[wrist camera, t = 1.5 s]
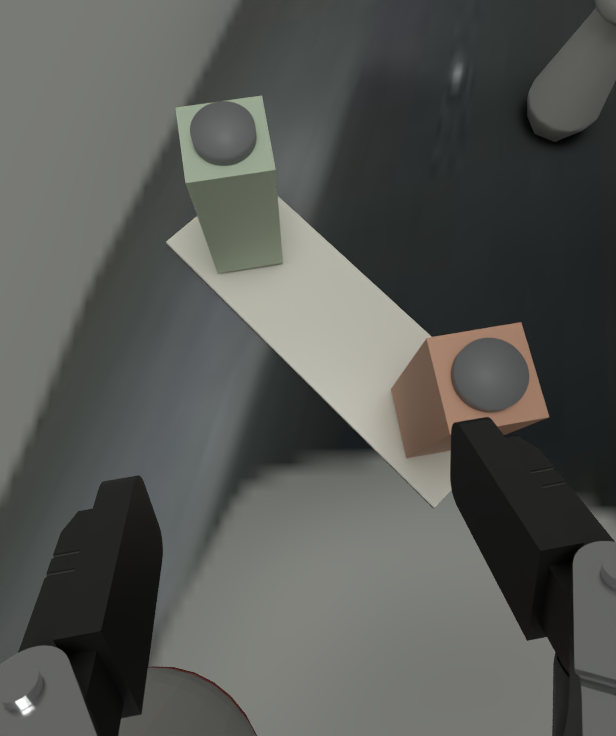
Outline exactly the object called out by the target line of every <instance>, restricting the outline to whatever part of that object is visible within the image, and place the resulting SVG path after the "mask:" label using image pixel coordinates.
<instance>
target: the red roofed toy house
mask: <svg viewBox="0 0 616 736" xmlns="http://www.w3.org/2000/svg"><path fill="white" fill-rule="evenodd" d="M118 736H257V735H256V733H255V731H254V729H253V727H252V725H251V724H250V722H249V720H248V718H247V716H246V714H245V713H244V712H243V711H242V709H241V708H240V707H239V706H238V704H236V702H235V701H234V700H233V698H232V697H231V696H230V695H228V694H227V693H226V692H225V691H224V690H222V689H221V688H220V687H219V686H218V685H216V684H215V683H213V682H212V681H210V680H208V679H206V678H204V677H202V676H200V675H198V674H196V673H194V672H190V671H186V670H182V669H178V668H174V667H148V670H147V678H146V685H145V693H144V700H143V708H142V714H141V715H136V716H131V717H126V718H121V722H120V728H119V734H118Z"/></svg>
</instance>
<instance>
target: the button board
mask: <svg viewBox="0 0 616 736" xmlns="http://www.w3.org/2000/svg"><path fill="white" fill-rule="evenodd" d="M278 207H279V219H280V232H281V244H282V256H283V263H279V264H273V265H267V266H260V267H254V268H248V269H241V270H235V271H228V272H222V273H217V270H216V267H215V264H214V262H213V259H212V256H211V253H210V250H209V248H208V245H207V242H206V239H205V236H204V233H203V231H202V228H201V225H200V222H199V219H198V217H195V218H194V219H193V220H192V221H191V222H189V223H188V224H187V225H186V226H185V227H183V228H182V229H181V230H180V231H178V232H177V233H176V234H175V235H174V236H172V237H171V238H170V239H169V240H168V241H166V243H167V245H168V246H169V247H170V248H171V249H172V250H173V251H174V252H175V253H176V254H177V255H178V256H179V257H180V258H181V259H182V260H183V261H184V262H185V263H186V264H187V265H188V266H189V267H190V268H191V269H192V270H193V271H194V272H195V273H196V274H197V275H198V276H199V277H200V278H201V279H202V280H203V281H204V282H205V283H206V284H207V285H208V286H209V287H210V288H211V289H212V290H214V291H215V292H216V293H217V294H218V295H219V296H220V297H221V298H222V299H223V300H224V301H225V302H226V303H227V304H228V305H229V306H230V307H231V308H232V309H233V310H234V311H235V312H236V313H237V314H238V315H239V316H240V317H241V318H242V319H243V320H244V321H245V322H246V323H247V324H248V325H249V326H250V327H251V328H252V329H253V330H254V331H255V332H256V333H257V334H258V335H259V336H260V337H261V338H262V339H263V340H264V341H265V342H266V343H267V344H268V345H269V346H270V347H271V348H272V349H273V350H274V351H275V352H276V353H277V354H278V355H279V356H280V357H281V358H282V359H283V360H284V361H285V362H286V363H287V364H288V365H289V366H290V367H291V368H292V369H293V370H294V371H295V372H296V373H297V374H298V375H299V376H300V377H301V378H302V379H303V380H304V381H305V382H306V383H307V384H308V385H309V386H310V387H311V388H312V389H313V390H314V391H315V392H316V393H317V394H318V395H319V396H320V397H321V398H322V399H323V400H324V401H325V402H326V403H327V404H328V405H329V406H330V407H331V408H332V409H333V410H334V411H335V412H337V413H338V414H339V415H340V416H341V417H342V418H343V419H344V420H345V421H346V422H347V423H348V424H349V425H350V426H351V427H352V428H353V429H354V430H355V431H356V432H357V433H358V434H359V435H360V436H361V437H362V438H363V439H364V440H365V441H366V442H367V443H368V444H369V445H370V446H371V447H372V448H373V449H374V450H375V451H376V452H377V453H378V454H379V455H380V456H381V457H382V458H383V459H384V460H385V461H386V462H387V463H388V464H389V465H390V466H391V467H392V468H393V469H394V470H395V471H396V472H397V473H398V474H399V475H400V476H401V477H402V478H403V479H404V480H405V481H406V482H407V483H408V484H409V485H410V486H411V487H412V488H413V489H414V490H415V491H416V492H417V493H418V494H419V495H420V496H421V497H423V499H424V500H425V501H426V502H427V503H428V504H429V505H430V506H431V507H432V508H435V507H436V506H437V505H438V504H439V503H440V502H441V501H442V499H443V498H444V497H445V496H446V495H447V494H448V493H449V492H450V491H451V490H452V489H451V482H450V458H451V451H445V452H440V453H434V454H429V455H423V456H417V457H412V458H406V454H405V450H404V445H403V441H402V436H401V432H400V427H399V423H398V418H397V414H396V409H395V405H394V400H393V396H392V391H391V388H392V387H393V385H394V384H395V382H396V381H397V380H398V378H399V377H400V375H401V374H402V372H403V371H404V370H405V368H406V367H407V365H408V364H409V362H410V361H411V359H412V358H413V357H414V355H415V354H416V352H417V351H418V349H419V348H420V347H421V345H422V344H423V342H424V341H425V339H426V338H430V337H431V336H430V335H429V334H428V333H427V332H426V331H425V330H424V329H422V328H421V327H420V326H419V325H418V324H417V323H416V322H415V321H414V320H413V319H412V318H410V317H409V316H408V315H407V314H406V313H405V312H404V311H403V310H402V309H401V308H400V307H398V306H397V305H396V304H395V303H394V302H393V301H392V300H391V299H390V298H389V297H388V296H386V295H385V294H384V293H383V292H382V291H381V290H380V289H379V288H378V287H377V286H375V285H374V284H373V283H372V282H371V281H370V280H369V279H368V278H367V277H366V276H365V275H363V274H362V273H361V272H360V271H359V270H358V269H357V268H356V267H355V266H354V265H353V264H351V263H350V262H349V261H348V260H347V259H346V258H345V257H344V256H343V255H342V254H341V253H339V252H338V251H337V250H336V249H335V248H334V247H333V246H332V245H331V244H330V243H329V242H327V241H326V240H325V239H324V238H323V237H322V236H321V235H320V234H319V233H318V232H317V231H315V230H314V229H313V228H312V227H311V226H310V225H309V224H308V223H307V222H306V221H304V220H303V219H302V218H301V217H300V216H299V215H298V214H297V213H296V212H295V211H294V210H292V209H291V208H290V207H289V206H288V205H287V204H286V203H285V202H284V201H283V200H282V199H280V198H279V197H278Z"/></svg>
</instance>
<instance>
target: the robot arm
mask: <svg viewBox="0 0 616 736" xmlns="http://www.w3.org/2000/svg"><path fill="white" fill-rule="evenodd" d="M450 482H451V489H452V493H453V496H454V499H455V502H456V505H457V507H458V508H459V511H460V512H461V514H462V516H463V518H464V520H465V522H466V524H467V526H468V528H469V530H470V532H471V534H472V535H473V538H474V539H475V541H476V543H477V545H478V547H479V549H480V551H481V553H482V555H483V557H484V559H485V560H486V562H487V564H488V566H489V568H490V570H491V572H492V574H493V576H494V578H495V580H496V582H497V584H498V586H499V587H500V589H501V591H502V593H503V595H504V597H505V599H506V601H507V603H508V605H509V607H510V608H511V610H512V612H513V614H514V616H515V618H516V620H517V622H518V624H519V626H520V628H521V630H522V632H523V634H524V635H525V637H526V639H527V641H528V640H533V639H537V638H543V637H548V639H549V641H550V643H551V645H552V647H553V648H554V650H555V657H554V667H553V668H554V669H553V671H554V672H553V730H552V731H553V732H552V733H553V734H552V736H616V542H615V541H614V540H613V539H612V538H611V536H610V535H609V534H608V533H607V531H606V530H605V529H604V528H603V527H602V525H601V524H600V523H599V522H598V520H597V519H596V518H595V517H594V515H593V514H592V513H591V512H590V511H589V509H588V508H587V507H586V506H585V504H584V503H583V502H582V501H581V499H580V498H579V497H578V496H577V495H576V493H575V492H574V491H573V490H572V488H571V487H570V486H569V485H566V481H565V480H564V479H563V477H562V476H561V475H560V474H559V472H558V471H557V470H554V466H553V465H552V464H551V463H550V461H549V460H548V459H547V458H546V456H545V455H544V454H543V453H542V451H541V450H540V449H538V448H537V447H535V446H534V445H532V444H530V443H529V442H527V441H526V440H524V439H522V438H521V437H519V436H514V437H508V438H506V437H505V436H504V435H503V433H502V432H501V431H500V429H499V428H498V427H497V425H496V424H495V423H494V421H493V420H492V419H491V418H489V417H483V418H477V419H471V420H466V421H460V422H454V423H453V425H452V428H451V458H450ZM53 555H54V558H53V559H51V562H50V565H49V568H48V571H47V577H46V578H45V579H44V582H43V585H42V587H41V590H40V593H39V596H38V599H37V601H36V604H35V607H34V610H33V613H32V615H31V618H30V621H29V624H28V627H27V629H26V632H25V635H24V638H23V641H22V643H21V646H20V649H19V651H18V653H17V654H15V655H13V656H12V657H10V658H9V659H7V660H6V661H4V662H3V663H2V664H1V665H0V736H118V734H119V728H120V722H121V718H126V717H131V716H136V715H141V714H142V708H143V700H144V693H145V685H146V678H147V670H148V663H149V655H150V648H151V640H152V632H153V625H154V617H155V610H156V602H157V595H158V587H159V580H160V572H161V565H162V556H163V545H162V536H161V531H160V527H159V524H158V521H157V518H156V516H155V513H154V510H153V507H152V504H151V501H150V498H149V495H148V493H147V490H146V487H145V484H144V481H143V479H142V478H141V477H140V476H133V477H127V478H121V479H116V480H110V481H104V482H102V483H101V485H100V487H99V490H98V493H97V496H96V500H95V503H94V506H93V509H88V510H83V511H78V512H77V514H76V515H75V516H74V517H73V518H72V520H71V521H70V522H69V523H68V525H67V526H66V527H65V528H64V529H63V531H62V532H61V534H60V537H59V540H58V543H57V545H56V548H55V551H54V554H53Z"/></svg>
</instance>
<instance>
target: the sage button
mask: <svg viewBox="0 0 616 736" xmlns="http://www.w3.org/2000/svg"><path fill="white" fill-rule="evenodd" d="M176 115H177V122H178V130H179V137H180V145H181V152H182V160H183V167H184V174H185V182H186V185H187V188H188V191H189V194H190V197H191V200H192V202H193V205H194V208H195V211H196V214H197V217H198V219H199V222H200V225H201V228H202V231H203V233H204V236H205V239H206V242H207V245H208V248H209V250H210V253H211V256H212V259H213V262H214V264H215V267H216V270H217V273H222V272H228V271H235V270H241V269H248V268H254V267H260V266H267V265H273V264H279V263H283V256H282V244H281V232H280V219H279V207H278V194H277V182H276V170H275V164H274V159H273V153H272V148H271V142H270V137H269V132H268V126H267V121H266V115H265V110H264V105H263V99H262V96H256V97H249V98H242V99H235V100H228V101H219V102H213V103H206V104H199V105H192V106H185V107H178V108H176Z"/></svg>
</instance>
